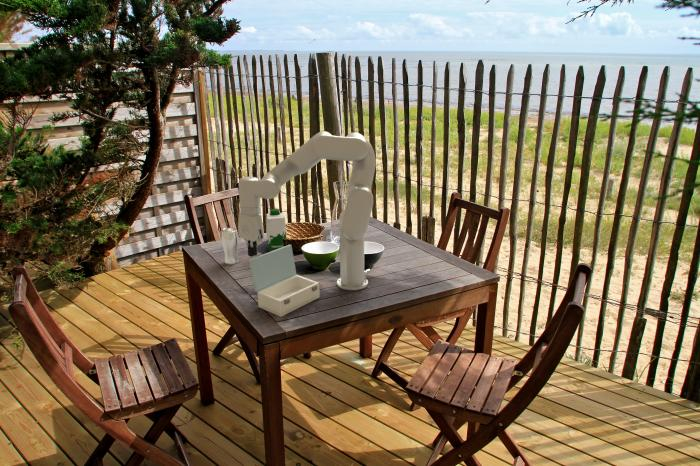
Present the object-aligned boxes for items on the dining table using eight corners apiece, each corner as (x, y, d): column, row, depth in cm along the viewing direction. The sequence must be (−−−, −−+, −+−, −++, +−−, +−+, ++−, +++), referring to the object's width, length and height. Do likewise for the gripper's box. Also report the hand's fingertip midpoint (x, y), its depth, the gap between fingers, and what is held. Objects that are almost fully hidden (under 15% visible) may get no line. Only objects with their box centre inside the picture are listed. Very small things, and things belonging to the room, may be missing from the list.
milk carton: (286, 248, 250) (284, 207, 244) (287, 255, 242) (285, 213, 235) (267, 249, 248) (264, 209, 242) (268, 256, 240) (265, 214, 234)
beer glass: (237, 264, 231) (235, 232, 226) (222, 265, 231) (218, 232, 226) (241, 259, 238) (238, 227, 233) (225, 259, 238) (222, 227, 233)
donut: (340, 246, 252) (340, 226, 249) (340, 248, 249) (340, 228, 245) (319, 246, 252) (319, 226, 249) (319, 249, 249) (318, 229, 245)
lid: (296, 274, 205) (294, 274, 206) (291, 244, 203) (289, 244, 204) (256, 291, 191) (254, 291, 192) (250, 260, 188) (248, 259, 189)
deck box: (297, 288, 207) (296, 274, 205) (321, 297, 199) (320, 283, 197) (258, 306, 193) (257, 291, 191) (282, 317, 185) (281, 302, 183)
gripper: (229, 208, 199) (232, 253, 205) (255, 216, 190) (257, 263, 196) (245, 204, 205) (247, 248, 211) (271, 211, 196) (272, 257, 202)
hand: (252, 255), depth 203 cm, fingers closed
